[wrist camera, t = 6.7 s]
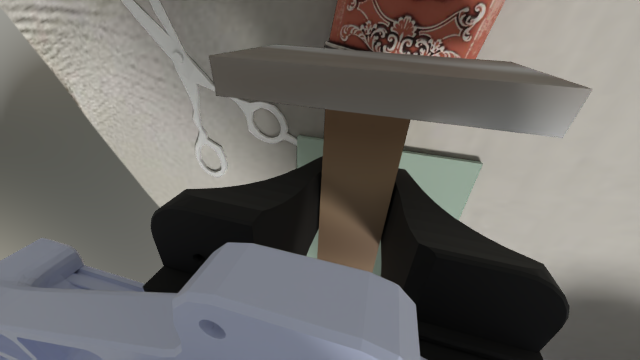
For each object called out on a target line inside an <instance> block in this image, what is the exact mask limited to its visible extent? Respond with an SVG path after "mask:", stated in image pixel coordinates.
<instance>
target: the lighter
mask: <svg viewBox="0 0 640 360" xmlns="http://www.w3.org/2000/svg"><path fill="white" fill-rule="evenodd" d="M504 2H505V0H338V1H337V6H336V10H335V15H334V20H333V24H332V29H331V34H330V38H329V41H326V42H325V47H324V48H329V49H342V50H356V51H370V52H383V53H397V54H411V55H424V56H438V57H452V58H465V59H476V57H477V55H478V53H479V51H480V49H481V47H482V45H483V43H484V41H485V39H486V37H487V35H488V33H489V31H490V29H491V28H492V26H493V24H494V22H495V20H496V18H497V16H498V14H499V12H500V10H501V8H502V6H503V4H504Z"/></svg>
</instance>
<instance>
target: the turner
mask: <svg viewBox="0 0 640 360" xmlns="http://www.w3.org/2000/svg"><path fill="white" fill-rule="evenodd" d="M209 59H210V64H211V70H212V75H213V81H214V86H215V92H216V96H223V97H231V98H239V99H247V100H256V101H264V102H272V103H280V104H288V105H296V106H305V107H313V108H321V109H325V123H324V142H323V160H322V178H321V197H320V215H319V233H318V252H317V259H320V260H324V261H328V262H332V263H336V264H340V265H344V266H348V267H352V268H357V269H361V270H365V271H369V272H371V273H372V272H373V268H374V264H375V260H376V256H377V252H378V248H379V244H380V240H381V236H382V232H383V228H384V224H385V220H386V216H387V212H388V208H389V204H390V200H391V196H392V192H393V188H394V184H395V180H396V176H397V172H398V168H399V164H400V160H401V156H402V152H403V148H404V144H405V139H406V135H407V131H408V127H409V123H410V119H411V120H419V121H427V122H435V123H444V124H452V125H460V126H468V127H476V128H484V129H493V130H501V131H509V132H517V133H525V134H534V135H542V136H550V137H558V138H563V137H564V135H565V134H566V132H567V130H568V129H569V127H570V125H571V124H572V122H573V121H574V119H575V117H576V116H577V114H578V113H579V111H580V109H581V108H582V106H583V104H584V103H585V101H586V100H587V98H588V96H589V95H590V93H591V92H592V90H593V89H591V88H588V87H585V86H582V85H579V84H576V83H573V82H570V81H567V80H564V79H561V78H558V77H555V76H552V75H549V74H546V73H543V72H540V71H537V70H534V69H531V68H528V67H525V66H522V65H519V64H516V63H513V62H506V61H492V60H479V59H465V58H452V57H438V56H424V55H411V54H397V53H383V52H370V51H356V50H342V49H329V48H315V47H302V46H288V45H269V46H263V47H257V48H251V49H246V50H240V51H234V52H228V53H222V54H216V55H210V56H209Z"/></svg>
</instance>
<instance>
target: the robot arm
mask: <svg viewBox="0 0 640 360" xmlns="http://www.w3.org/2000/svg"><path fill="white" fill-rule="evenodd" d="M322 160H323V156H322V157H319V158H317V159H315V160H313V161H311V162H309V163H307V164H305V165H303V166H301V167H299V168H297V169H295V170H292V171H290V172H288V173H286V174H283V175H280V176H277V177H274V178H271V179H268V180H264V181H260V182H255V183H250V184H246V185H239V186H232V187H223V188H208V189H186V190H184V191H183V192H181V193H180V194H179V195H177V196H176V197H174V198H173V199H172V200H170V201H169V202H167V203H166V204H165V205H163V206H162V207H161V208H159V209H158V210H156V211H155V213H154V214H153V216H152V219H151V231H152V235H153V238H154V241H155V244H156V246H157V249H158V252H159V254H160V257H161V259H162V262H163V265H164V266H163V267H162V268H161V269H160V270H159V271H158V272H157V273H156V274H155V275H154V276H153V277H152V278H151V279H150V280H149V281H148V282H147V283H146V284H144V283H141V282H138V281H135V280H131V279H128V278H125V277H122V276H118V275H115V274H112V273H109V272H105V271H102V270H99V269H95V268H92V267H89V266H86V265H84V263H83V260H82V258H81V256H80V254H79V253H78V252H77V251H76V250H75V249H74V248H73V247H71V246H69V245H67V244H63V243H60V242H57V241H53V240H50V239H46V238H40V239H39V240H37V241H35V242H33V243H31V244H30V245H28V246H26V247H24V248H22V249H21V250H19V251H17V252H15V253H13V254H12V255H10V256H8V257H6V258H4V259H2V260H1V261H0V360H543V358H542V356H541V354H540V352H539V351H540V350H541V349H542V348H543V347H544V346H545V345H546V344H547V343H548V342H549V341H550V340H551V339H552V338H553V337H554V336H555V334H556V333H557V332H558V331H559V330H560V329H561V328H562V327H563V325H564V324H565V322H566V320H567V319H568V315H569V305H568V302H567V300H566V297H565V295H564V294H563V292H562V291H561V289H560V288H559V286H558V285H557V283H556V282H555V280H554V279H553V277H552V276H551V274H550V273H549V271H548V270H547V268H546V267H545V266H544V264H542V263H540V262H537V261H535V260H533V259H531V258H528V257H526V256H524V255H522V254H519V253H517V252H515V251H513V250H510V249H508V248H506V247H504V246H502V245H500V244H498V243H496V242H494V241H492V240H490V239H488V238H486V237H485V236H483V235H481V234H479V233H478V232H476V231H474V230H472V229H471V228H469V227H468V226H466V225H465V224H463V223H462V222H460V221H458V220H457V219H456V218H454V217H453V216H451V215H450V214H449V213H448V212H446V211H445V210H444V209H442V208H441V207H440V206H439V205H438V204H437V203H435V202H434V201H433V200H432V199H431V198H430V197H429V196H428V195H427V194H426V193H425V192H424V191H423V190H422V189H421V187H420V186H419V185H418V184H417V183H416V182H415V181H414V179H413V178H412V177H411V176H410V174H409V173H408V172H407V171H406V170H405V169H401V168H398V172H397V176H396V180H395V184H394V188H393V192H392V196H391V200H390V204H389V208H388V212H387V216H386V220H385V224H384V228H383V232H382V236H381V277H380V276H378V275H376V274H373V273H371V272H369V271H365V270H361V269H357V268H352V267H348V266H344V265H340V264H336V263H332V262H328V261H324V260H320V259H316V258H312V257H307V253H308V251H309V248H310V246H311V244H312V242H313V240H314V237H315V235H316V233H317V231H318V229H319V215H320V197H321V178H322Z"/></svg>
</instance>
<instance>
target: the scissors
mask: <svg viewBox="0 0 640 360" xmlns="http://www.w3.org/2000/svg"><path fill="white" fill-rule="evenodd" d="M121 1H122V3H123V4H124V5H125V6H126V7H127V9H128V10H129V11H130V12H131V13H132V15H133V16H134V17H135V18H136V19H137V21H138V22H139V23H140V24H141V25H142V27H143V28H144V29H145V30H146V31H147V32H148V33H149V35H150V36H151V37H152V38H153V39H154V40H155V41H156V43H157V44H158V45H159V46H160V47H161V48H162V50H163V51H164V52H165V53H166V54H167V55H168V56H169V58H170V59H171V60H172V61H173V64H174V66H175V69H176V71H177V73H178V75H179V77H180V79H181V81H182V83H183V85H184V87H185V89H186V91H187V93H188V96H189V98H190V100H191V102H192V104H193V110H194V114H193V121H194V123H195V125H196V126H197V128H198V130H199V131H200V132H199V137H198V141H197V143H196V147H195V151H196V158H197V161H198V163H199V164H200V166H201V167H202V169H203V170H204V171H205V172H206V173H208V174H210V175H212V176H214V177H221V176H222V175H224V174H225V173H226V171H227V168H228V163H227V158H226V155H225V152H224V150H223V148H222V147H221V146H220V145H218V144H217V143H215V142H214V141H212V140H210V139H209V138H208V134H207V132H206V131H205V129H204V127H203V126H202V121H201V115H200V105H199V102H200V92H199V85H201V86H203V87H205V88H208V89H210V90H212V91H215V86H214V83H213V82H212V81H211V80H210V79H209V77H208V76H207V75H206V74H205V73H204V72H203V71H202V70H201V69H200V67H199V66H198V65H197V64H196V63H195V62H194V61H193V60H192V59H191V58H190V57H189V55H188V54H187V53H186V52H185V50H184V48H183V46H182V44H181V42H180V40H179V38H178V36H177V34H176V32H175V30H174V28H173V26H172V24H171V22H170V20H169V18H168V16H167V14H166V12H165V10H164V8H163V6H162V4H161V2H160V0H149V1H150V4H151V6H152V8H153V10H154V12H155V14H156V15H157V17H158V19H159V20H160V22H161V23H162V25H163V27H164V28H165V30H166V32H167V33H168V34H167V33H166V32H165V31H164V30H163V29H162V28H161V27H160V26H159V25H158V24H157V23H156V22H155V21H154V20H153V19H152V18H151V17H150V16H149V15H148V14H147V13H146V12H144V11H143V10H142V9H141V8H140V7H139V6H138V5H137V4H136V3H135V2H134V1H133V0H121ZM229 98H230V99H232V100H233V101H234V102H236V103H237V104H238V106H239V107H240V108H241V110H242V111H243V113H244V114H245V115H246V119H247V124H248V131H249V132H250V133H251V134H253V135H254V136H255V137H256V138H257V139H260V140H262V141H264V142H267V143H271V144H274V143H278V142H280V141H282V140H286V141H288V142H290V143H292V144H294V145H296V146H297V139H296V138H295V137H294V136H292V135H290V134H289V133H287V132H288V125H287V122H286V119H285V117H284V115H283V114H282V113H281V112H280V110H279V109H278V108H277V107H276V106H274V105H272V104H270V103H267V102H261V101H257V102H253V103H251V102H248V101H245V100H242V99H239V98H231V97H229ZM259 108H263V109H266V110H268V111H270V112H272V113H273V114H274V115H275V116H276V118H277V119H278V121H279V123H280V125H281V132H280V134H279V136H277V137H274V138H270V137H268V136H266V135H264V134H263V133H261V131H260V130H259V129H258V128H257V126H256V124H255V122H254V111H256V110H258V109H259ZM204 145H208V146H209V147H211V148H212V149H214V150H215V152H216V153H217V155H218V157H219V159H220V161H221V167H222V168H221V170H220V171H212V170H211V169H209V168H208V167H207V166H206V164H205V163H204V161H203V160H202V157H201V148H202V147H203V146H204Z"/></svg>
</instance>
